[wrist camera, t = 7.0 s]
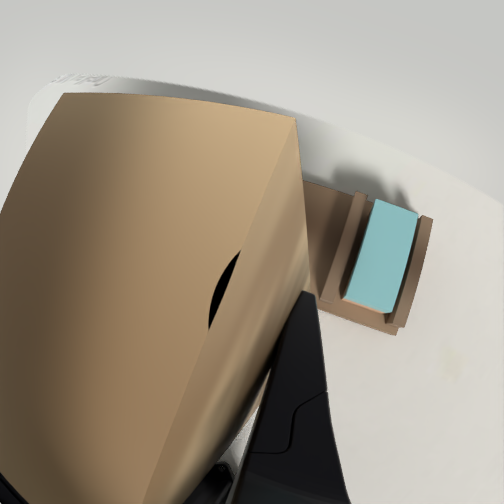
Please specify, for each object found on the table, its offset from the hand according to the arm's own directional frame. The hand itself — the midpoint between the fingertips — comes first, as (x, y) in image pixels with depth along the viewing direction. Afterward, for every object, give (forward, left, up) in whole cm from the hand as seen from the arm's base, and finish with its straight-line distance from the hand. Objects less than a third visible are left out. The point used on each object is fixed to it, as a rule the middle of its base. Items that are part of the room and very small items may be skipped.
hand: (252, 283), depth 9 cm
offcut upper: (+6, +1, -10) cm, 12 cm away
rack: (+5, +2, -12) cm, 14 cm away
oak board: (-1, -1, -7) cm, 7 cm away
